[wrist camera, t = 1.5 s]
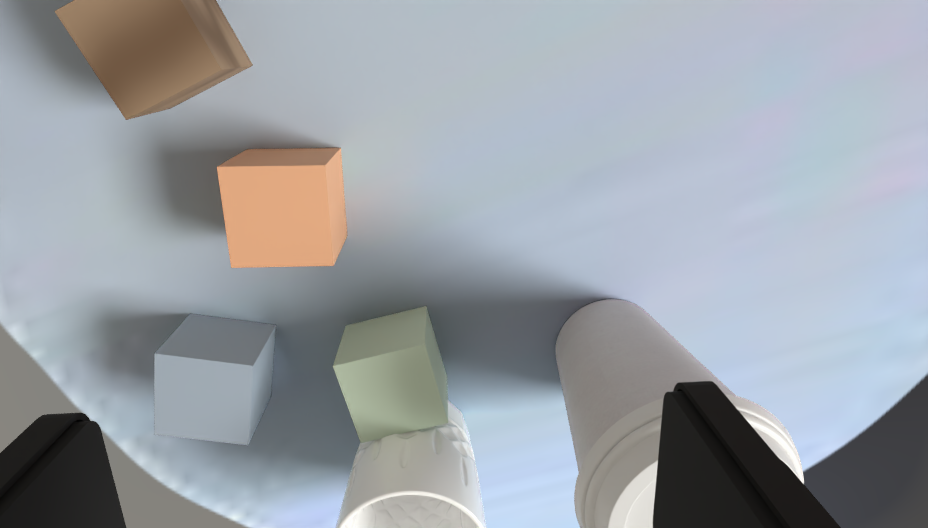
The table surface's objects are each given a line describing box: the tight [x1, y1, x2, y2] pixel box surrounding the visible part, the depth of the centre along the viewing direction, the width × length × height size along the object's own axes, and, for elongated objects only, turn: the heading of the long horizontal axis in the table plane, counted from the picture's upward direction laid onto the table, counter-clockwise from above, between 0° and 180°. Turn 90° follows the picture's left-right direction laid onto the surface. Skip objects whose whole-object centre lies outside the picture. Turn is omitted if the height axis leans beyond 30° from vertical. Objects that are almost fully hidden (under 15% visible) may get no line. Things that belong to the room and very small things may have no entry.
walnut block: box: [55, 0, 253, 120], centre depth 29 cm, size 5×5×5 cm
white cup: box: [336, 401, 486, 528], centre depth 35 cm, size 8×8×10 cm
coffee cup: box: [555, 299, 804, 528], centre depth 31 cm, size 10×10×15 cm
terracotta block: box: [217, 148, 347, 268], centre depth 32 cm, size 5×5×5 cm
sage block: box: [333, 306, 448, 443], centre depth 35 cm, size 5×5×5 cm
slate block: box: [154, 314, 276, 445], centre depth 35 cm, size 5×5×5 cm
